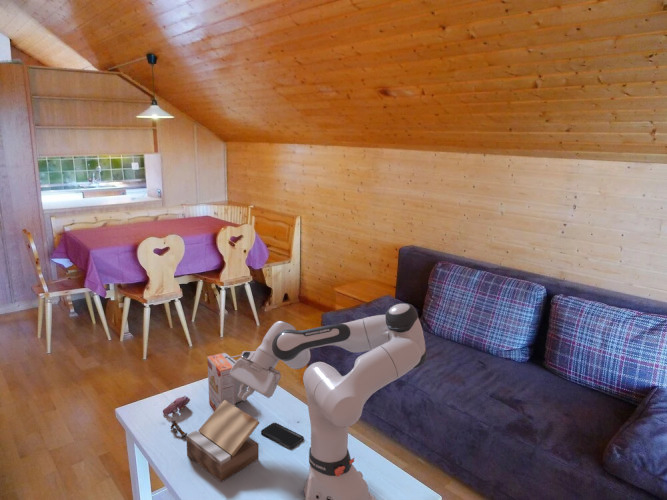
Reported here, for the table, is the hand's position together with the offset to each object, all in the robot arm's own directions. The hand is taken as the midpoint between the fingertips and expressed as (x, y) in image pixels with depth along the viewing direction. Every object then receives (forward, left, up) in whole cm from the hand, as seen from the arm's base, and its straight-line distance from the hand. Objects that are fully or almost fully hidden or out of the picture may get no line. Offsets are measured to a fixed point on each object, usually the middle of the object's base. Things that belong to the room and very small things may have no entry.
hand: (240, 398), depth 165 cm
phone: (-7, -13, -19) cm, 24 cm away
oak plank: (-1, +5, -8) cm, 10 cm away
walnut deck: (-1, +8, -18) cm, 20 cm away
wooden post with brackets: (+21, +12, -18) cm, 30 cm away
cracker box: (+22, -8, -18) cm, 30 cm away
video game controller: (+34, +4, -18) cm, 39 cm away
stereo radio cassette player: (+31, -18, -18) cm, 41 cm away
